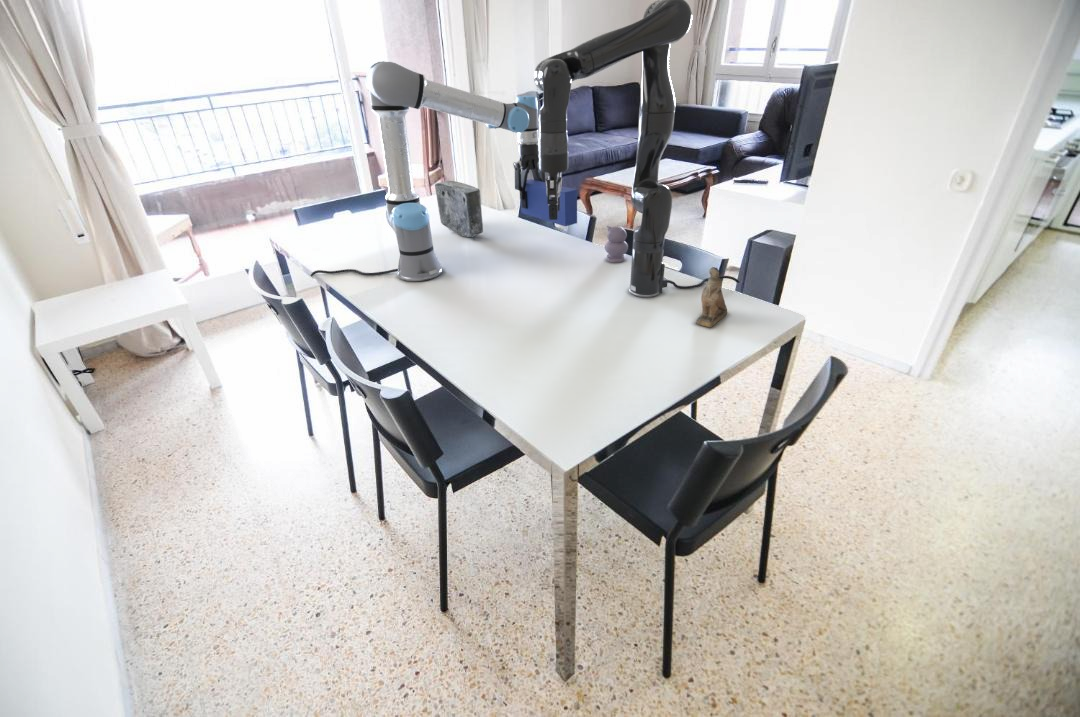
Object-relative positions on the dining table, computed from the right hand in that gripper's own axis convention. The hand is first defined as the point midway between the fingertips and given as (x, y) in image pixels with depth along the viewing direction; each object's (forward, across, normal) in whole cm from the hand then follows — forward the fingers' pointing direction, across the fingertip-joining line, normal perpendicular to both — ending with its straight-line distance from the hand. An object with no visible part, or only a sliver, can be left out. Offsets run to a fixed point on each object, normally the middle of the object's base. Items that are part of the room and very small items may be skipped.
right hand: (554, 214), depth 134 cm
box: (+16, +55, +7) cm, 58 cm away
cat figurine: (+28, +41, -19) cm, 53 cm away
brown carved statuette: (+28, -5, -44) cm, 52 cm away
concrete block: (+28, +72, +46) cm, 89 cm away
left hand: (+14, +62, +14) cm, 65 cm away
